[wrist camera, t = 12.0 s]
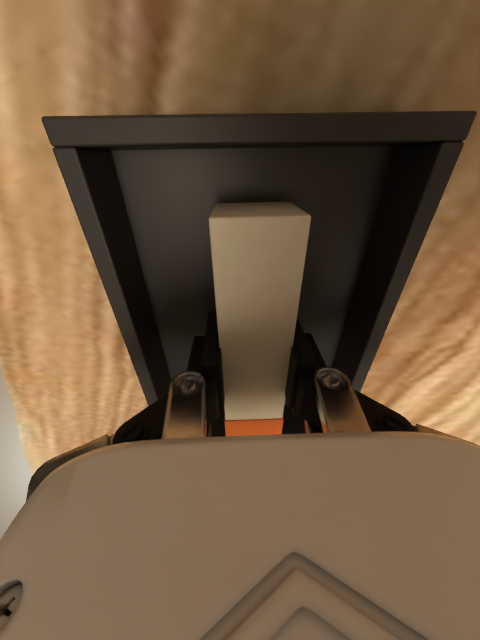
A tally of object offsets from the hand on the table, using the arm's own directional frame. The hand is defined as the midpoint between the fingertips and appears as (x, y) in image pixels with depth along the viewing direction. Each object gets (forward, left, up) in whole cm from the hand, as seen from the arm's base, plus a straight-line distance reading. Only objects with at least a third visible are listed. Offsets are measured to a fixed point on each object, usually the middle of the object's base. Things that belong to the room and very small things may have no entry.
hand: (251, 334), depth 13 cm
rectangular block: (0, 0, 0) cm, 0 cm away
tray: (0, 0, -2) cm, 2 cm away
